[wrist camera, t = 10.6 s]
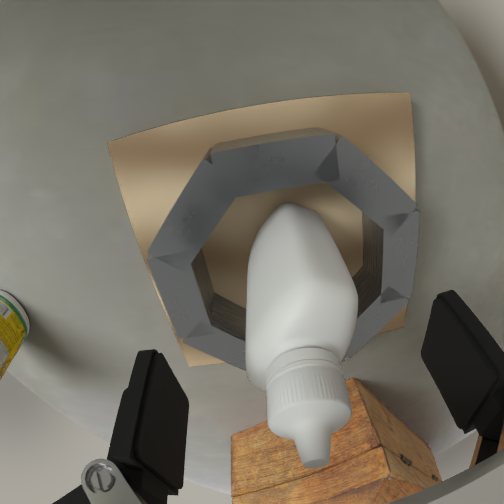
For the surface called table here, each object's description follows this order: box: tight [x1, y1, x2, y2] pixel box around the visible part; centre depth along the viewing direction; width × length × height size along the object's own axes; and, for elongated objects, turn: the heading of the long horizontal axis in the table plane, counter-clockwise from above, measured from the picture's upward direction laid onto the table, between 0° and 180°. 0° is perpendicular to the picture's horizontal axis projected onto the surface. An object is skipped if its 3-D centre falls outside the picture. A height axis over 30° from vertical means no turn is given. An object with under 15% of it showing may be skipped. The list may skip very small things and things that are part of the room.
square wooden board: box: [107, 93, 415, 366], centre depth 18 cm, size 16×16×1 cm
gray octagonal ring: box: [146, 127, 420, 371], centre depth 15 cm, size 13×13×4 cm
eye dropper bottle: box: [245, 202, 358, 469], centre depth 12 cm, size 4×6×12 cm
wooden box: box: [231, 378, 442, 504], centre depth 26 cm, size 30×16×14 cm, turn 39°
